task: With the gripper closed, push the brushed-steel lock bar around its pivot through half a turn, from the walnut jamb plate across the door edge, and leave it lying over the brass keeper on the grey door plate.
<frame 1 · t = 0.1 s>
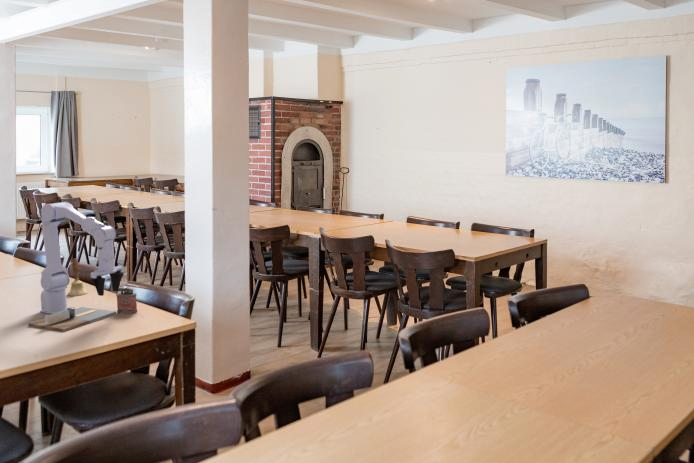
hand: (108, 293, 263), 10 cm above the table, tool pointing down, fingers open, 7 cm apart
jamb plate: (59, 324, 257), on the table
red tin can: (127, 312, 274), on the table
lock bar: (60, 315, 257), point 3 cm above the table, hinge at 0.0°
door plate: (85, 316, 268), on the table
hand bell: (77, 294, 306), on the table
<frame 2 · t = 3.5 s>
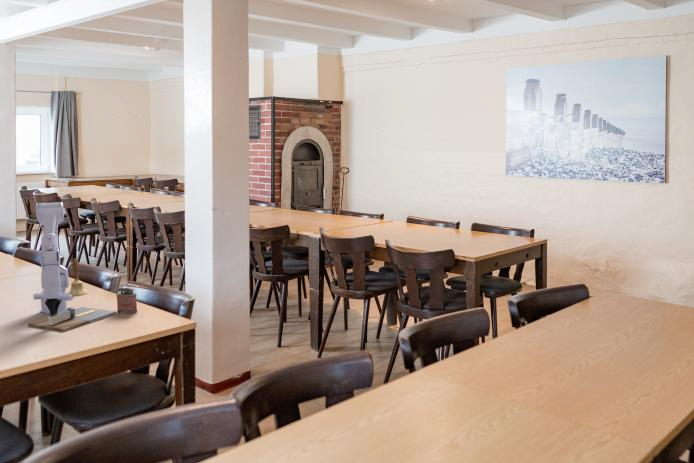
hand: (54, 318, 255), 3 cm above the table, tool pointing down, fingers closed, pressing on lock bar
lock bar: (62, 316, 257), point 3 cm above the table, hinge at 9.3°, touching gripper
everything else where it was.
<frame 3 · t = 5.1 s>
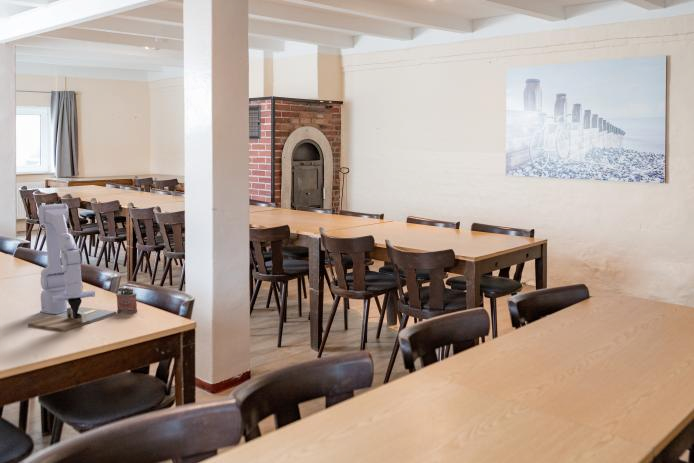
hand: (75, 318, 255), 3 cm above the table, tool pointing down, fingers closed, pressing on lock bar
lock bar: (76, 315, 258), point 3 cm above the table, hinge at 69.5°, touching gripper
everything else where it was.
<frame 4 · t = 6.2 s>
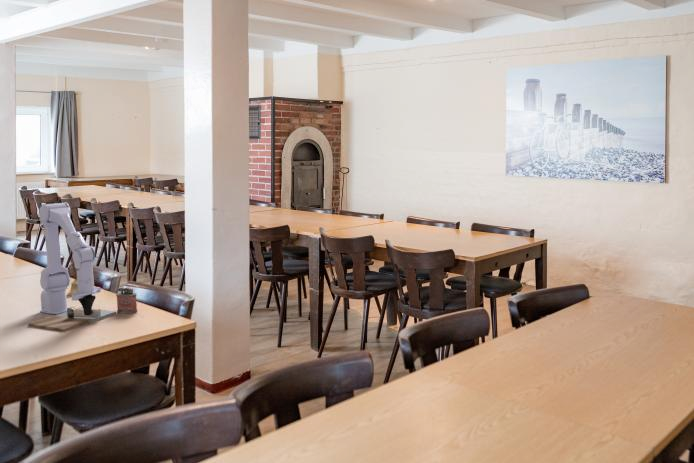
hand: (88, 315, 259), 3 cm above the table, tool pointing down, fingers closed, pressing on lock bar
lock bar: (83, 312, 261), point 3 cm above the table, hinge at 107.0°, touching gripper
everything else where it was.
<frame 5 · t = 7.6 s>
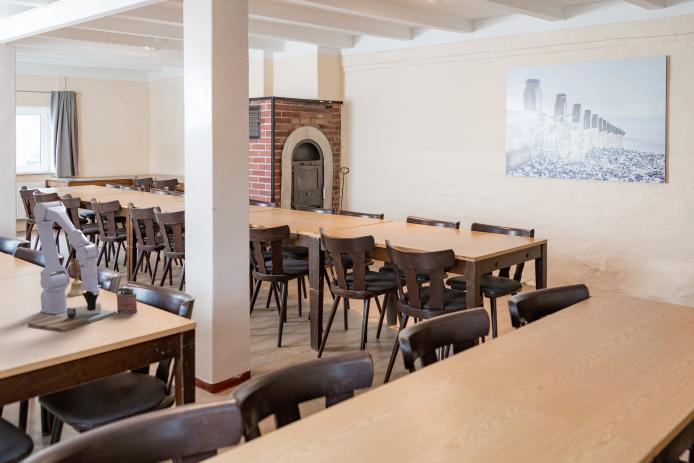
hand: (91, 310, 266), 3 cm above the table, tool pointing down, fingers closed, pressing on lock bar
lock bar: (83, 310, 265), point 3 cm above the table, hinge at 159.8°, touching gripper
everything else where it was.
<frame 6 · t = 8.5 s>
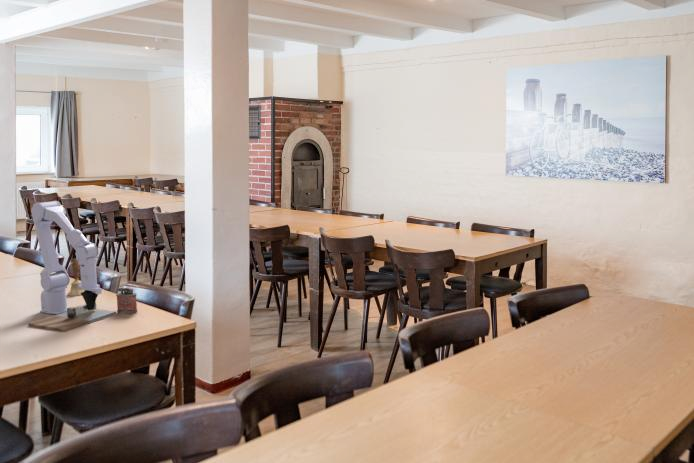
hand: (90, 309, 267), 3 cm above the table, tool pointing down, fingers closed
lock bar: (81, 309, 266), point 3 cm above the table, hinge at 177.3°, touching gripper
everything else where it was.
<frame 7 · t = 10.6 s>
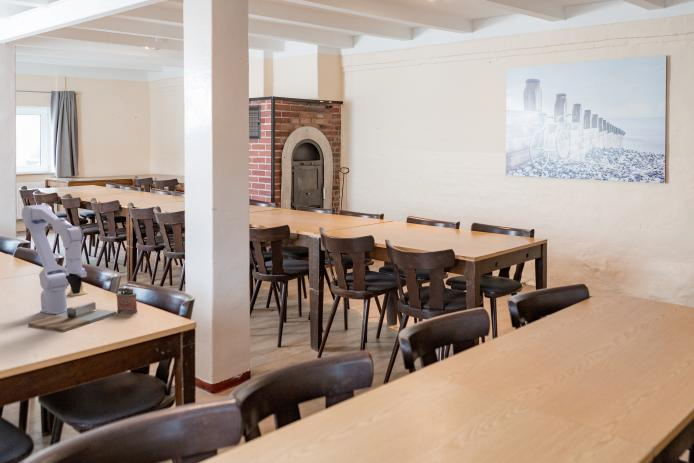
hand: (76, 293, 266), 9 cm above the table, tool pointing down, fingers closed
lock bar: (81, 309, 266), point 3 cm above the table, hinge at 179.0°
everything else where it was.
at the end: lock bar at +179° (first picture: +0°) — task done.
